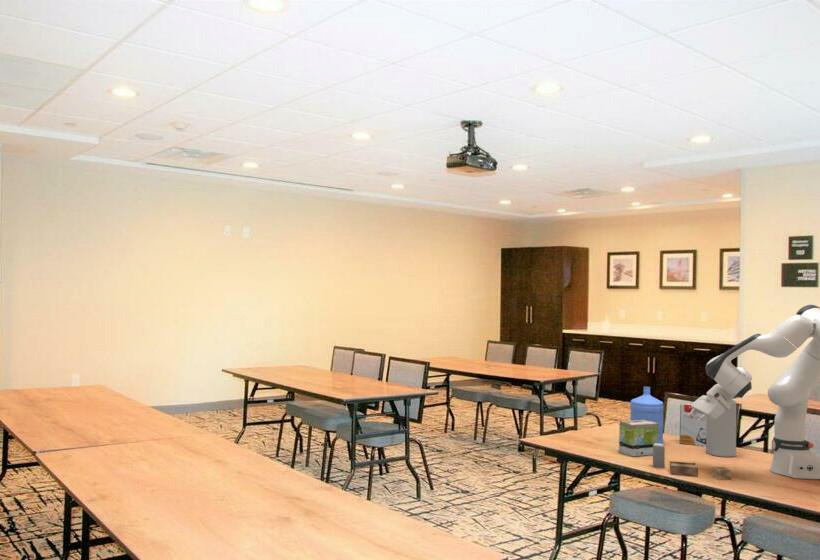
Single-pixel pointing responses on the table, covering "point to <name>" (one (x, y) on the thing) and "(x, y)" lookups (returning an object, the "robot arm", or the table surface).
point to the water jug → (648, 410)
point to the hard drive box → (691, 427)
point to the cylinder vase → (722, 433)
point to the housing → (658, 455)
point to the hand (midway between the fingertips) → (693, 420)
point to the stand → (683, 468)
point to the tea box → (637, 437)
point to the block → (721, 473)
